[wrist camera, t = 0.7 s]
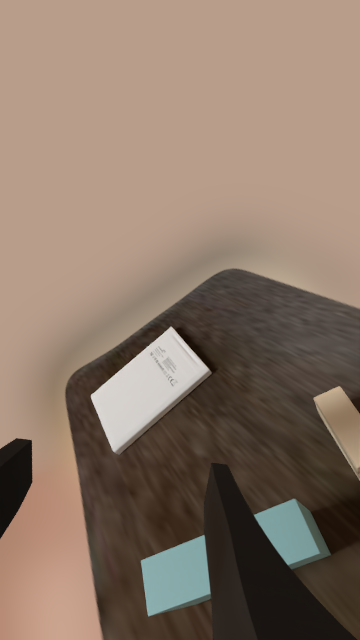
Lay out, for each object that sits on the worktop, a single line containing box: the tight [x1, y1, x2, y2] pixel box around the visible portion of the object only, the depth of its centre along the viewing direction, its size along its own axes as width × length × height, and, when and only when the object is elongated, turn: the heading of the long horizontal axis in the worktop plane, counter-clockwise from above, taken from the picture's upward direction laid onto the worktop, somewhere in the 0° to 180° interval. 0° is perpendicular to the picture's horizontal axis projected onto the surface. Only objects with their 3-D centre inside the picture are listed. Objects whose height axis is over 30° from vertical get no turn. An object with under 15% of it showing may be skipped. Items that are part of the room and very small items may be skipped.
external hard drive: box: [91, 327, 212, 454], centre depth 34 cm, size 2×8×12 cm
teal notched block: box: [141, 499, 331, 616], centre depth 19 cm, size 2×10×6 cm, turn 106°
